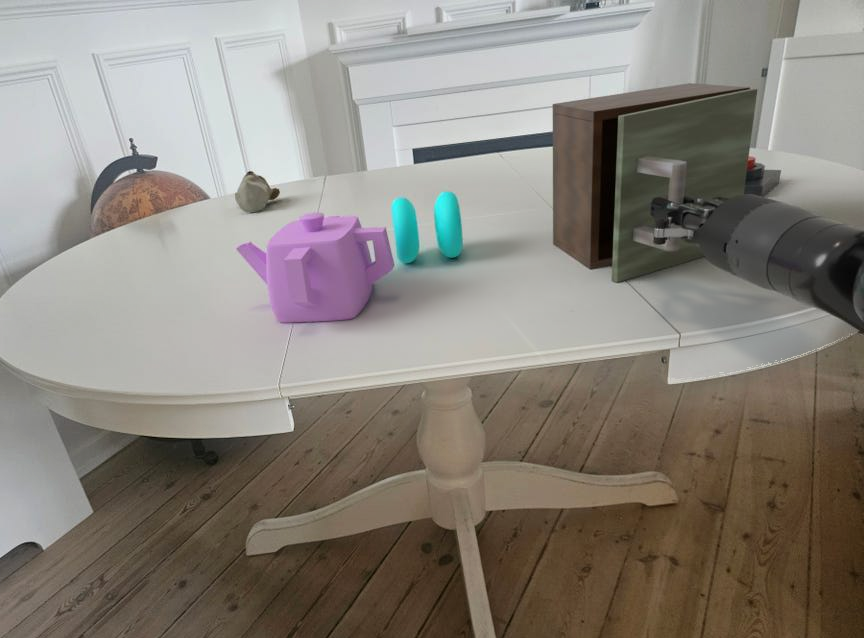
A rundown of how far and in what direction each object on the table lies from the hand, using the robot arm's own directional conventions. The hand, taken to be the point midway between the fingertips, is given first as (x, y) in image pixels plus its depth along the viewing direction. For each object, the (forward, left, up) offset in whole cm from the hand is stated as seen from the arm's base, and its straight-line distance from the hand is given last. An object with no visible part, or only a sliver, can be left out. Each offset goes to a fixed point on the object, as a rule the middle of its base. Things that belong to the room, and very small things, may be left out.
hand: (663, 204), depth 74 cm
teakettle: (+34, -27, -10) cm, 45 cm away
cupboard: (-10, -12, -10) cm, 19 cm away
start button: (-44, -20, -6) cm, 49 cm away
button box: (-44, -20, -10) cm, 50 cm away
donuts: (+14, -31, -10) cm, 36 cm away
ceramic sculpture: (+21, -96, -10) cm, 99 cm away
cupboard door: (-7, 0, -10) cm, 12 cm away
